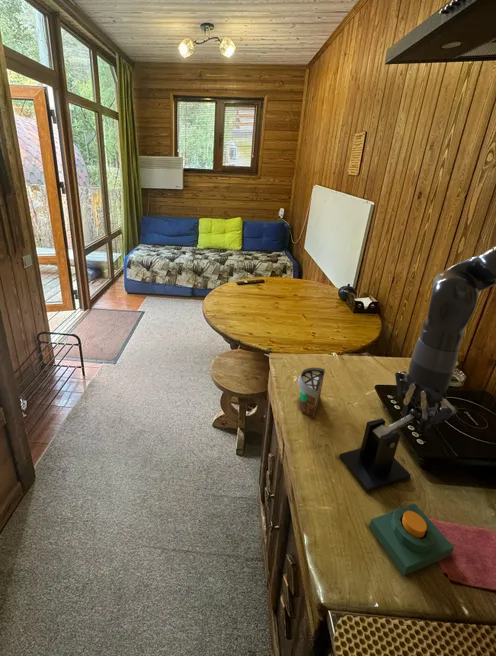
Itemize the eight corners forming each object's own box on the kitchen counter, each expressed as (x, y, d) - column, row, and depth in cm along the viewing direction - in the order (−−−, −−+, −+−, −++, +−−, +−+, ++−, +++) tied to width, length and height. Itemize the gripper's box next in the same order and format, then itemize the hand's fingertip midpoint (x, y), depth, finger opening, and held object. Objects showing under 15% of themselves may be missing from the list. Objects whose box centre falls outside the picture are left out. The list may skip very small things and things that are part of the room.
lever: (417, 410, 73) (416, 401, 72) (429, 420, 70) (429, 410, 69) (371, 436, 71) (370, 427, 70) (382, 448, 68) (381, 438, 67)
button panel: (412, 510, 63) (417, 496, 62) (451, 555, 56) (457, 540, 55) (368, 526, 60) (372, 512, 59) (404, 575, 53) (409, 560, 52)
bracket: (378, 446, 78) (388, 408, 74) (410, 478, 70) (422, 438, 66) (339, 457, 75) (346, 418, 71) (366, 493, 67) (377, 451, 63)
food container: (301, 388, 98) (304, 361, 95) (320, 395, 95) (325, 368, 92) (289, 412, 88) (293, 383, 85) (311, 421, 85) (316, 392, 82)
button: (411, 514, 59) (414, 508, 59) (429, 535, 56) (431, 528, 55) (397, 520, 58) (399, 513, 58) (414, 541, 55) (416, 534, 54)
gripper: (481, 378, 61) (456, 445, 66) (417, 341, 74) (401, 400, 79) (453, 384, 59) (430, 453, 64) (392, 345, 72) (377, 405, 77)
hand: (414, 423), depth 72 cm, fingers closed on lever, 3 cm apart
